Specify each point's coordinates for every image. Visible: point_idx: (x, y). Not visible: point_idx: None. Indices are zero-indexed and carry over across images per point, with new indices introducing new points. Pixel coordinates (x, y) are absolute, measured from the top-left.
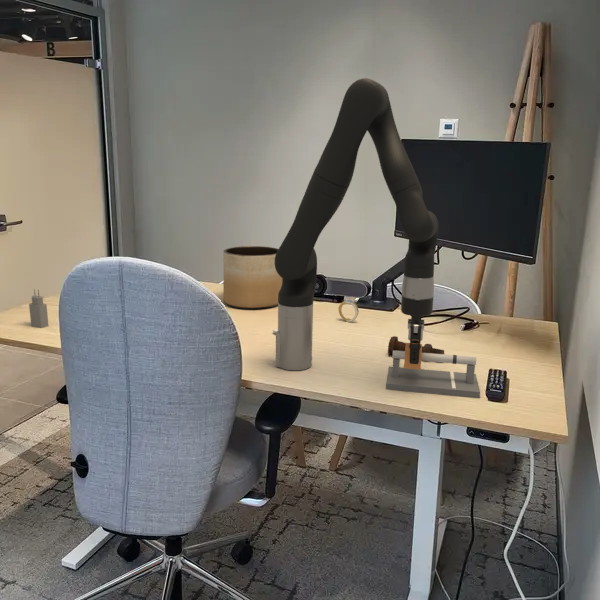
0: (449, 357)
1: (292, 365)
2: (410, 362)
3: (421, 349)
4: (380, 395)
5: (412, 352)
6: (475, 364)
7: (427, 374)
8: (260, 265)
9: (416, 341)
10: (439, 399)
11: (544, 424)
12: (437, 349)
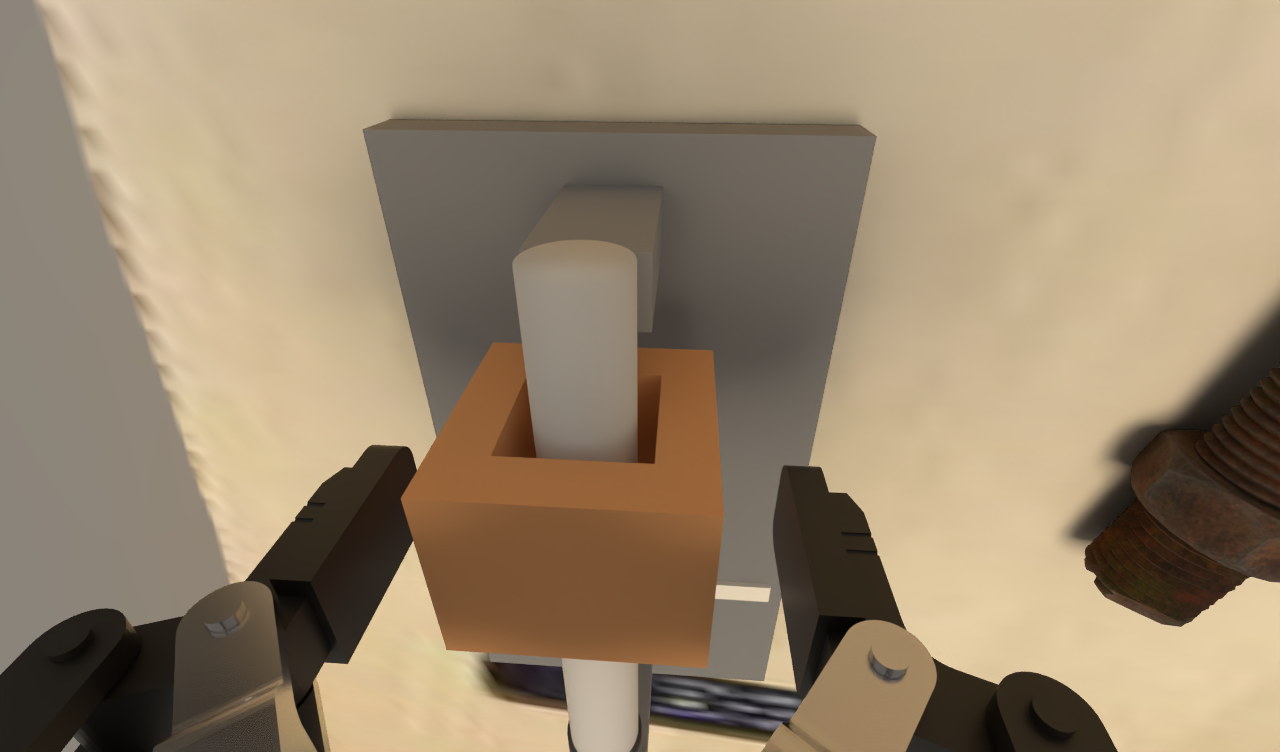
0: (574, 732)
1: None
2: (373, 455)
3: (474, 648)
4: (230, 74)
5: (263, 572)
6: None
7: None
8: None
9: (796, 632)
10: None
11: (343, 743)
12: (1194, 595)
